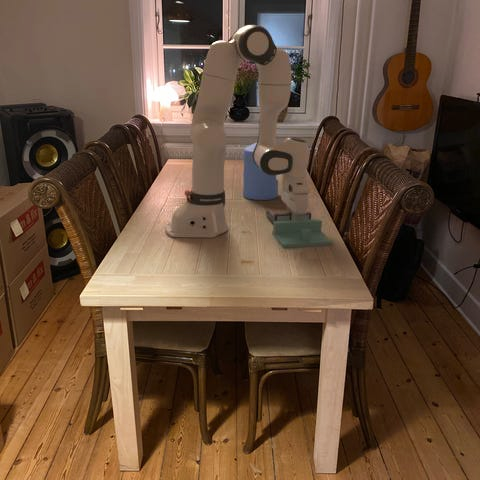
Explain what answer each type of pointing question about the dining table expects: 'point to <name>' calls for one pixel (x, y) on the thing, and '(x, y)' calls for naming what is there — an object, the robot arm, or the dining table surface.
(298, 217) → the glasses frame
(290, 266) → the dining table surface
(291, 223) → the display stand
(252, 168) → the water jug
